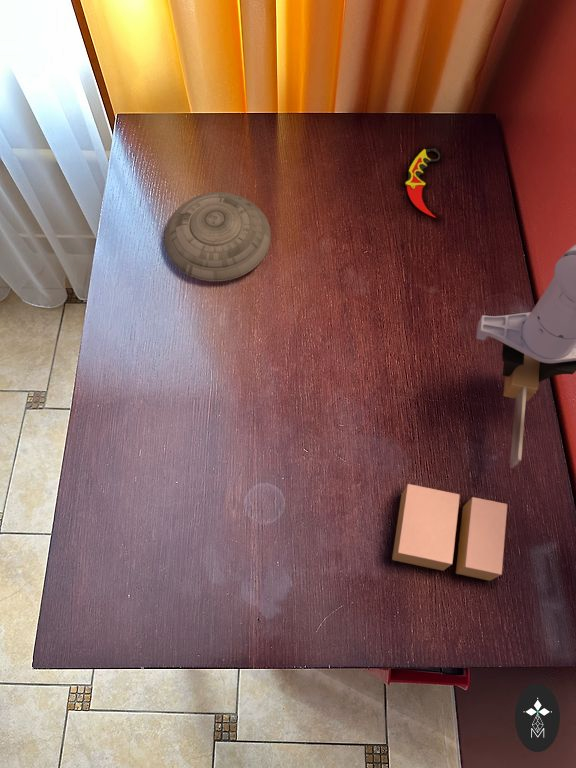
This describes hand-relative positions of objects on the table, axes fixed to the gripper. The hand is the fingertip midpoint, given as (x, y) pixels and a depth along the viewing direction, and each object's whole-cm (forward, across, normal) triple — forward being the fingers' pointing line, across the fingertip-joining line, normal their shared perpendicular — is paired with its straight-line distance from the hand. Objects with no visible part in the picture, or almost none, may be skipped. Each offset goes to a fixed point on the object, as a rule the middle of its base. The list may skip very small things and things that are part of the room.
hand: (521, 371), depth 82 cm
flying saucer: (+7, +42, -15) cm, 45 cm away
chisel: (+1, 0, +4) cm, 5 cm away
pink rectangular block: (+7, +8, +20) cm, 23 cm away
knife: (+7, +15, -32) cm, 36 cm away
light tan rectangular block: (+7, +2, +20) cm, 21 cm away
